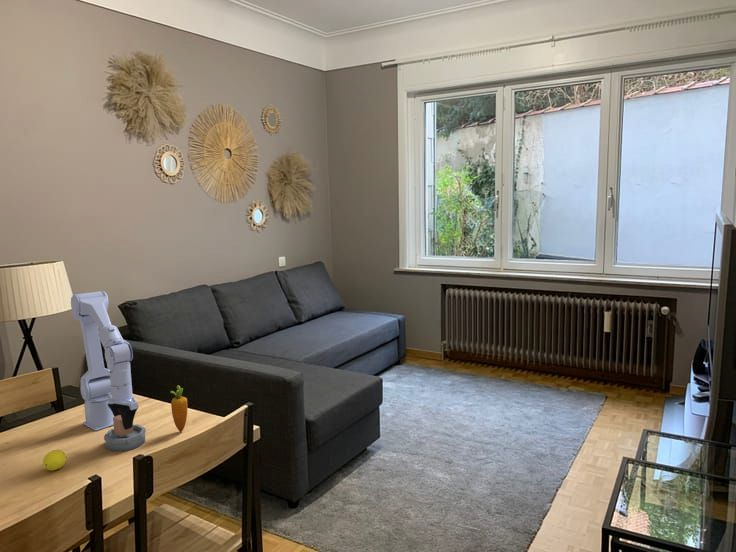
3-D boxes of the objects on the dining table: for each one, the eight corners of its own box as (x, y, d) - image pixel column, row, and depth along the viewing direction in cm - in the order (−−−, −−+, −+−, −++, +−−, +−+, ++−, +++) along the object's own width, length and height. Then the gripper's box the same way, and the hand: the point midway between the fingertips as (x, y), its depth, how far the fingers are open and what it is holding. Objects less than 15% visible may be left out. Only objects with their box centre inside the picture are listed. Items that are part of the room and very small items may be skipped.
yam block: (114, 432, 165) (112, 417, 164) (127, 428, 168) (125, 412, 167) (120, 436, 162) (119, 420, 161) (133, 431, 165) (132, 416, 164)
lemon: (54, 465, 154) (54, 446, 154) (72, 465, 153) (71, 446, 153) (36, 474, 147) (36, 454, 147) (55, 475, 146) (55, 455, 146)
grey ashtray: (99, 444, 165) (98, 433, 165) (134, 432, 173) (133, 421, 173) (116, 455, 158) (115, 443, 158) (152, 441, 166) (151, 430, 166)
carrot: (184, 435, 171) (181, 389, 168) (169, 434, 172) (166, 389, 169) (192, 429, 175) (189, 384, 173) (178, 428, 176) (175, 383, 174)
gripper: (96, 381, 165) (100, 424, 167) (119, 392, 155) (123, 437, 157) (119, 375, 170) (122, 417, 172) (143, 385, 161) (146, 429, 163)
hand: (124, 426), depth 165 cm, fingers closed on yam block, 4 cm apart
